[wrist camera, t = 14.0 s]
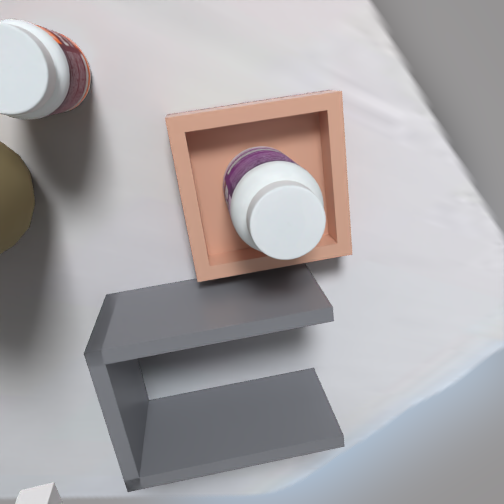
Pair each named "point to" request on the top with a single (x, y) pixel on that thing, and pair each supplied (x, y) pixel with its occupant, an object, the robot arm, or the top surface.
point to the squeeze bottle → (14, 198)
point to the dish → (247, 136)
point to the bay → (213, 399)
